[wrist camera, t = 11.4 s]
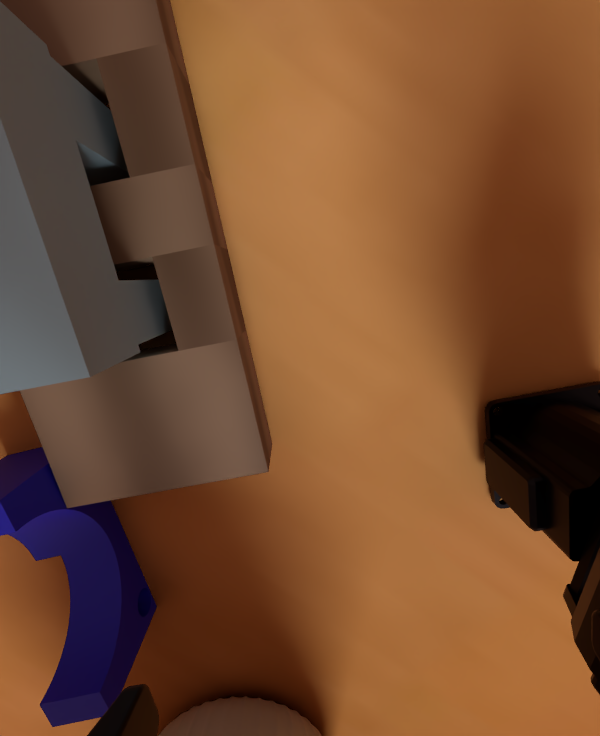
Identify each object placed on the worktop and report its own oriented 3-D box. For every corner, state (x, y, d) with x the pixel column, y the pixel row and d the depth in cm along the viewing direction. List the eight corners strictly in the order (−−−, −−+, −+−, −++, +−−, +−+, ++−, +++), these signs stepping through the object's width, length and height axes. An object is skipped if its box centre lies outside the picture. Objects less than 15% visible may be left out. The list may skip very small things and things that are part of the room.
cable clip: (9, 454, 20) (-105, 525, 15) (84, 435, 20) (-1, 500, 14) (91, 618, 23) (23, 733, 17) (157, 604, 23) (111, 714, 17)
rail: (146, -102, 14) (108, -199, 11) (272, 443, 20) (268, 471, 17) (-93, -45, 15) (-189, -125, 12) (99, 475, 21) (67, 508, 18)
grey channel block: (121, 114, 16) (-60, -55, 8) (180, 332, 19) (90, 377, 10) (48, 129, 16) (-205, -21, 8) (116, 344, 19) (-24, 398, 10)
